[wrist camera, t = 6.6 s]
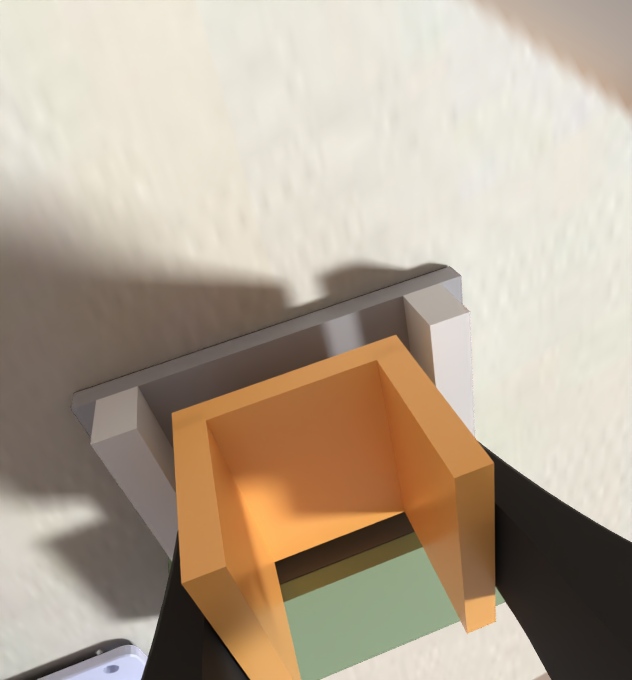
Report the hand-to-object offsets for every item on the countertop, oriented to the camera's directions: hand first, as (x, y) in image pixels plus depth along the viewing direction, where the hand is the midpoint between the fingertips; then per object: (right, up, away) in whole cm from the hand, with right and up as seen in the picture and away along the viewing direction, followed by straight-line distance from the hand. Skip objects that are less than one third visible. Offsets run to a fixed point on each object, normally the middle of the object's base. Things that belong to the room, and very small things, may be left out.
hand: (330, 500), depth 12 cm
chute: (0, +1, +1) cm, 1 cm away
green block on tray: (0, -1, +5) cm, 5 cm away
